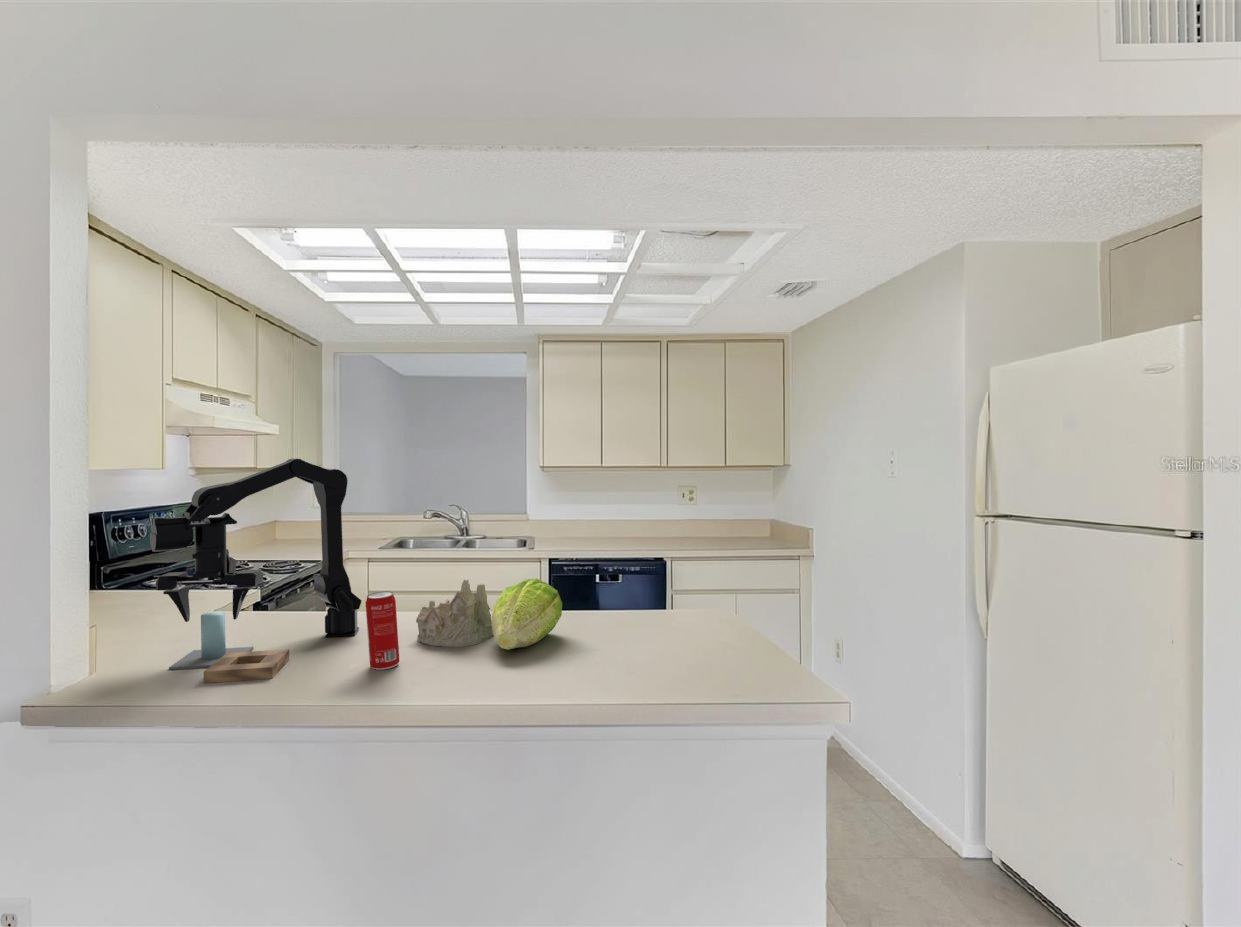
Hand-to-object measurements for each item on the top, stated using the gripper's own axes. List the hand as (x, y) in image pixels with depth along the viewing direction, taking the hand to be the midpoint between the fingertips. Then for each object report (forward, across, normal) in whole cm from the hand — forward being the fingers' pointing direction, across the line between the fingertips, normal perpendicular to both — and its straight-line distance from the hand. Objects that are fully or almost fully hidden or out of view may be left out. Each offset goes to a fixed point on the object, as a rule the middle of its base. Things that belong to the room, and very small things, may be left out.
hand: (211, 620), depth 142 cm
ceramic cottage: (+8, -50, -6) cm, 52 cm away
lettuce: (+8, -65, +3) cm, 66 cm away
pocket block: (+8, -10, +10) cm, 16 cm away
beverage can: (+8, -36, +13) cm, 39 cm away
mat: (+8, 0, 0) cm, 8 cm away
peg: (+8, 0, 0) cm, 8 cm away
